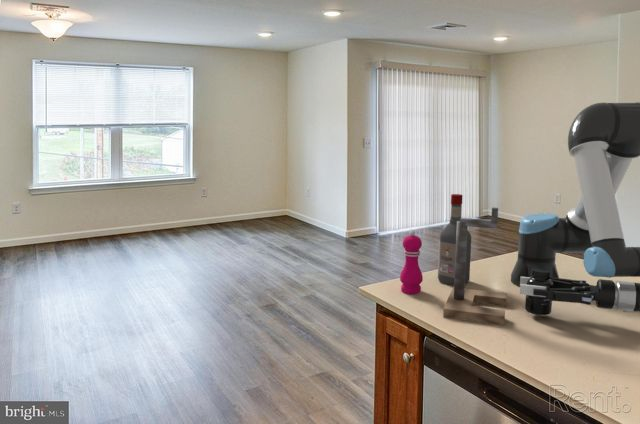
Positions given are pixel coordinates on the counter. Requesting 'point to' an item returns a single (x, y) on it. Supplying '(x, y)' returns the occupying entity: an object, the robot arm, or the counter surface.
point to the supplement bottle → (538, 303)
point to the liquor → (452, 245)
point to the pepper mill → (411, 265)
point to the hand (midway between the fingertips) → (520, 285)
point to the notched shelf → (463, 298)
